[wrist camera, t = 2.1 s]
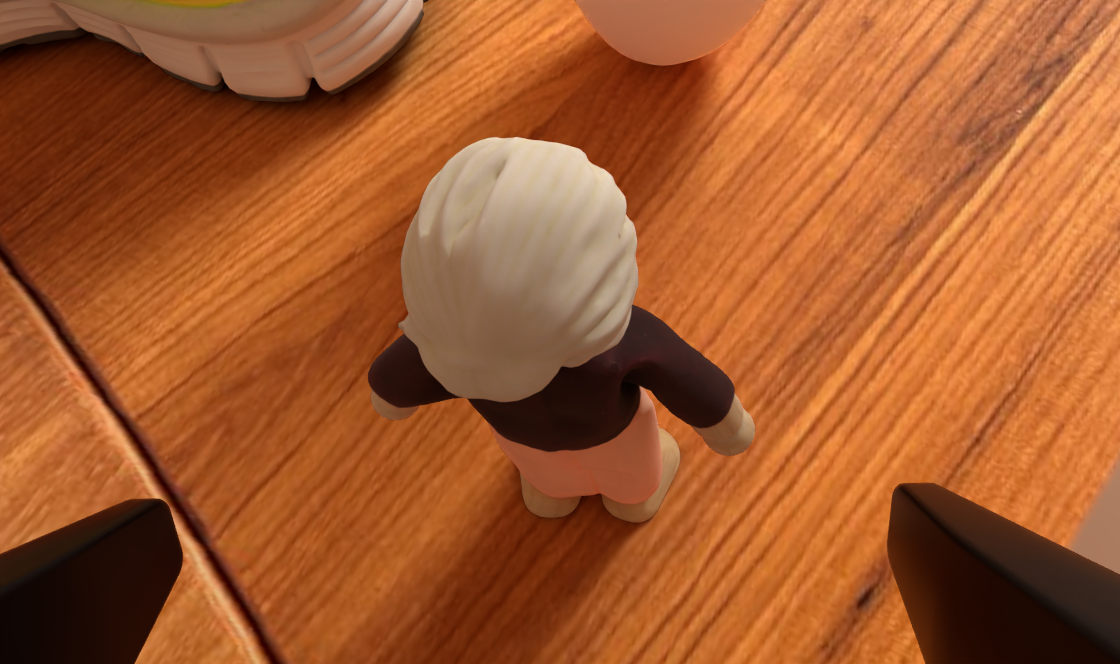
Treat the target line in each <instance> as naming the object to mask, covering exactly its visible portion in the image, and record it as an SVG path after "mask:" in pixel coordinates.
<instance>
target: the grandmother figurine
mask: <svg viewBox="0 0 1120 664" xmlns="http://www.w3.org/2000/svg"><path fill="white" fill-rule="evenodd" d="M636 247H637V236H636V231H635V227H634V224H633V222H632V221H631V220H629V218H628V217H627V215H626V200H625V196H624V195H623V193H622V192H621V190H620V189H619V188H618V187H617V185H616V184H615V182H614V179H613V177H612V175H611V174H609V173H608V172H607V171H606V170H605V169H602V168H600V167H598V166H596V165H593V164H592V163H591V162H590V161H589V160H588V159H587V156H586V154H585V153H584V152H583V151H581V150H580V149H578V148H575V147H572V146H568V145H564V144H561V143H555V142H546V141H541V140H529V139H524V138H519V137H514V138H505V139H503V138H498V137H491V138H487V139H483V140H480V141H478V142H475V143H473V144H471V145H469V146H467V147H465V148H464V149H463V150H461V151H460V152H459V153H457V154H456V155H454V156H453V157H452V158H451V159H450V160H449V161H448V162H447V163H446V164H445V166H444V167H443V169H442V170H441V171H439V172H438V173H437V174H436V175H435V177H434V178H433V179H432V180H431V181H430V183H429V184H428V186H427V188H426V190H425V192H424V194H423V197H422V200H421V203H420V206H419V209H418V211H417V213H416V215H415V217H414V218H413V221H412V223H411V225H410V227H409V229H408V231H407V234H406V238H405V242H404V246H403V251H402V256H401V276H402V286H403V287H402V289H403V295H404V301H405V304H406V307H407V310H408V313H409V314H408V315H407V317H406V319H405V320H404V321H402V322H400V323H399V324H398V327H399V328H400V329H401V330H403V332H404V334H403V335H402V336H401V337H399V338H398V339H397V340H396V341H395V342H394V343H393V344H392V345H391V346H389V347H388V348H387V349H386V350H385V351H384V352H383V353H382V354H381V355H379V356H378V357H377V358H376V359H375V361H374V362H373V363H372V365H371V367H370V370H369V372H368V382H369V384H370V387H371V388H372V391H371V402H372V405H373V407H374V409H375V411H376V412H378V413H379V414H380V415H381V416H383V417H385V418H387V419H389V420H402V419H405V418H408V417H409V416H411V415H412V414H414V413H415V411H416V410H417V409H418V407H419V406H420V405H427V404H430V403H435V402H440V401H443V400H448V399H452V398H467V399H468V400H469V402H470V403H471V404H472V405H473V407H474V408H475V409H476V410H477V411H478V412H479V413H480V414H481V415H482V416H483V417H484V418H485V419H486V421H487V422H488V424H489V426H490V428H491V430H492V432H493V434H494V436H495V438H496V440H497V442H498V444H499V446H500V448H501V449H502V450H503V452H504V453H505V454H506V455H507V457H508V458H509V459H510V460H511V461H512V462H513V463H514V464H515V465H516V467H517V468H518V469H519V471H520V477H521V486H522V496H523V500H524V503H525V505H526V507H527V508H528V509H529V510H530V511H531V512H532V513H533V514H535V515H537V516H540V517H546V518H556V517H563V516H566V515H568V514H570V513H571V512H573V510H574V509H575V508H576V507H577V506H578V503H579V501H580V498H581V496H588V495H595V494H598V493H600V494H602V501H603V504H604V506H605V508H606V509H607V510H608V511H609V512H610V513H611V514H612V515H613V516H615V517H617V518H620V519H622V520H625V521H629V522H643V521H646V520H648V519H649V518H651V517H652V516H653V515H654V514H655V513H656V512H657V510H658V508H659V507H660V505H661V503H662V501H663V499H664V497H665V495H666V493H667V491H668V489H669V487H670V485H671V483H672V481H673V479H674V477H675V474H676V472H677V470H678V467H679V463H680V451H679V448H678V445H677V443H676V441H675V440H674V438H673V437H672V436H671V435H670V434H669V433H668V432H666V431H665V430H664V429H662V428H660V427H658V422H657V417H656V411H655V408H654V404H653V402H652V401H651V399H650V398H649V397H648V395H647V393H646V391H645V389H644V388H646V389H648V390H650V391H652V393H653V394H654V395H655V397H656V398H657V399H658V400H659V401H660V402H661V403H662V404H663V405H664V406H665V407H666V408H667V409H668V410H669V411H670V412H671V413H672V414H674V415H675V416H676V417H678V418H680V419H681V420H683V421H684V422H686V423H687V424H689V425H691V427H692V428H693V429H694V430H695V431H696V432H697V433H698V434H699V435H701V436H702V437H703V439H704V441H705V442H706V444H707V445H708V446H709V447H710V448H711V449H712V450H713V451H715V452H717V453H719V454H721V455H725V456H733V455H737V454H740V453H742V452H744V451H745V450H746V449H747V448H748V447H749V446H750V444H751V443H752V441H753V438H754V434H755V425H754V422H753V420H752V418H751V416H750V414H749V413H748V412H747V411H746V410H745V409H744V408H743V407H742V404H741V402H740V400H739V399H738V397H737V396H736V395H735V393H734V392H735V389H734V386H733V383H732V382H731V380H730V379H729V377H728V376H727V375H726V374H725V373H724V372H723V371H722V370H721V369H719V368H718V367H717V366H716V365H715V364H713V363H712V362H711V361H709V360H708V359H707V358H705V357H704V356H703V355H702V354H701V353H700V352H698V351H697V350H695V349H694V348H692V347H691V346H690V345H688V344H687V343H686V342H685V341H684V340H683V339H681V338H680V337H679V336H678V335H677V334H676V333H675V332H674V331H673V330H672V329H671V328H670V327H669V326H668V325H667V324H665V323H664V322H663V321H662V320H661V319H659V318H657V317H656V316H654V315H653V314H652V313H650V312H648V311H646V310H644V309H642V308H640V307H637V306H635V305H633V301H634V297H635V294H636V290H637V287H638V268H637V264H636V258H635V253H636Z"/></svg>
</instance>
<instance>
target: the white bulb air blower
mask: <svg viewBox="0 0 1120 664" xmlns="http://www.w3.org/2000/svg"><path fill="white" fill-rule="evenodd" d="M575 2H576V3H577V5H578V6H579V8H580V9H581V11H582V13H583V14H584V16H585V17H586V19H587V20H588V22H589V23H590V24H591V26H592V27H593V28H594V29H595V31H596V32H597V33H598V34H599V35H600V36H601V37H602V38H603V39H604V40H605V41H606V43H607V44H608V45H609V46H611V47H612V48H613V49H615V50H616V51H618V52H619V53H620V54H622V55H624V56H626V57H628V58H631V59H633V60H635V61H639V62H643V63H647V64H652V65H662V66H666V65H675V64H679V63H683V62H687V61H691V60H695V59H698V58H700V57H703V56H705V55H708V54H710V53H712V52H713V51H715V50H717V49H719V48H721V47H722V46H724V45H725V44H726V43H727V42H729V41H730V40H731V39H732V38H734V37H735V36H736V35H737V34H738V33H739V32H740V31H741V30H742V29H743V28H744V27H745V26H746V25H747V23H748V22H749V21H750V20H751V19H752V18H753V16H754V15H755V14H756V13H757V12H758V10H759V9H760V8H761V7H762V5H763V4H764V3H765V2H766V0H575Z"/></svg>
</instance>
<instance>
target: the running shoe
mask: <svg viewBox="0 0 1120 664" xmlns="http://www.w3.org/2000/svg"><path fill="white" fill-rule="evenodd" d="M427 1H428V0H0V53H1V52H2V51H3V50H4V49H5V48H8V47H12V46H15V45H19V44H22V43H24V44H30V45H35V44H39V43H44V42H50V41H54V40H60V39H70V38H75V37H80V36H84V35H85V34H86V33H87V32H92V33H93V34H94V36H95V37H96V38H97V39H99V40H101V41H105V42H111V43H118V44H120V45H121V46H123V47H124V48H126V49H127V50H129V51H130V52H132V53H134V54H137V55H139V56H141V57H144V56H147V57H148V58H149V59H150V60H151V61H152V62H153V63H155V64H157V65H158V66H159V67H160V68H161V69H162V70H163V71H164V72H165V73H167V74H169V75H171V76H172V77H174V78H176V79H178V80H182V81H186V82H189V83H191V84H193V85H195V86H196V87H198V88H200V89H203V90H207V91H211V92H218V91H219V90H220V89H222V87H223V84H224V81H225V83H226V84H227V86H228V87H229V88H230V89H232V90H233V91H235V92H236V93H237V94H238V95H239V96H240V97H241V98H244V99H247V100H255V101H276V102H292V101H302V100H305V99H307V97H308V94H309V90H310V85H311V81H312V78H315V79H316V81H317V83H318V84H319V86H320V87H321V88H322V89H323V90H325V91H327V92H328V93H329V94H337V93H339V92H341V91H342V90H344V89H346V88H348V87H349V86H351V85H353V84H355V83H356V82H358V81H359V80H361V79H362V78H364V77H366V76H367V75H369V74H370V73H372V72H373V71H375V70H376V69H377V68H378V67H380V66H381V65H382V64H383V63H385V62H386V61H387V60H388V59H390V58H391V57H392V56H393V55H394V54H395V53H396V52H397V51H398V50H399V49H400V48H401V47H402V46H403V45H404V44H405V43H406V42H407V41H408V39H409V38H410V37H411V36H412V34H413V33H414V31H415V30H416V28H417V26H418V25H419V23H420V21H421V19H422V17H423V15H424V13H423V3H425V2H427Z"/></svg>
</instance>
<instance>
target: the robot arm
mask: <svg viewBox="0 0 1120 664" xmlns="http://www.w3.org/2000/svg"><path fill="white" fill-rule="evenodd" d="M887 552H888V558H889V562H890V566H891V568H892V571H893V574H894V577H895V580H896V582H897V585H898V588H899V591H900V594H901V596H902V599H903V602H904V605H905V607H906V610H907V613H908V616H909V619H910V621H911V624H912V627H913V630H914V633H915V635H916V638H917V641H918V644H919V647H920V649H921V652H922V655H923V658H924V660H925V663H926V664H1120V574H1118V573H1115V572H1114V571H1111V570H1109V569H1107V568H1105V567H1103V566H1101V565H1099V564H1097V563H1095V562H1093V561H1091V560H1089V559H1087V558H1085V557H1083V556H1081V555H1079V554H1077V553H1075V552H1073V551H1071V550H1069V549H1067V548H1065V547H1063V546H1061V545H1059V544H1057V543H1055V542H1053V541H1051V540H1049V539H1047V538H1045V537H1043V536H1041V535H1038V534H1036V533H1034V532H1032V531H1030V530H1028V529H1026V528H1024V527H1022V526H1020V525H1018V524H1016V523H1014V522H1012V521H1010V520H1008V519H1006V518H1004V517H1002V516H1000V515H998V514H996V513H994V512H992V511H990V510H988V509H986V508H984V507H982V506H980V505H978V504H976V503H974V502H972V501H970V500H968V499H966V498H963V497H961V496H959V495H957V494H955V493H953V492H951V491H949V490H947V489H945V488H943V487H941V486H939V485H937V484H935V483H902V484H899V485H898V486H897V487H896V488H895V489H894V492H893V495H892V503H891V512H890V521H889V530H888V539H887ZM182 563H183V552H182V548H181V545H180V541H179V538H178V534H177V531H176V528H175V524H174V521H173V517H172V514H171V511H170V508H169V506H168V505H167V503H166V502H165V501H163V500H161V499H155V498H154V499H130V500H127V501H124V502H122V503H119V504H117V505H114V506H112V507H110V508H107V509H105V510H103V511H100V512H98V513H96V514H93V515H91V516H89V517H86V518H84V519H81V520H79V521H77V522H74V523H72V524H70V525H67V526H65V527H63V528H60V529H58V530H56V531H53V532H51V533H48V534H46V535H44V536H41V537H39V538H37V539H34V540H32V541H30V542H27V543H25V544H23V545H20V546H18V547H15V548H13V549H11V550H8V551H6V552H4V553H1V554H0V664H135V662H136V660H137V658H138V656H139V654H140V652H141V650H142V648H143V646H144V644H145V642H146V640H147V638H148V636H149V634H150V632H151V630H152V628H153V626H154V624H155V622H156V620H157V618H158V616H159V614H160V612H161V610H162V608H163V606H164V604H165V602H166V600H167V598H168V596H169V594H170V592H171V590H172V588H173V586H174V584H175V582H176V580H177V578H178V576H179V574H180V571H181V567H182Z"/></svg>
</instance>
